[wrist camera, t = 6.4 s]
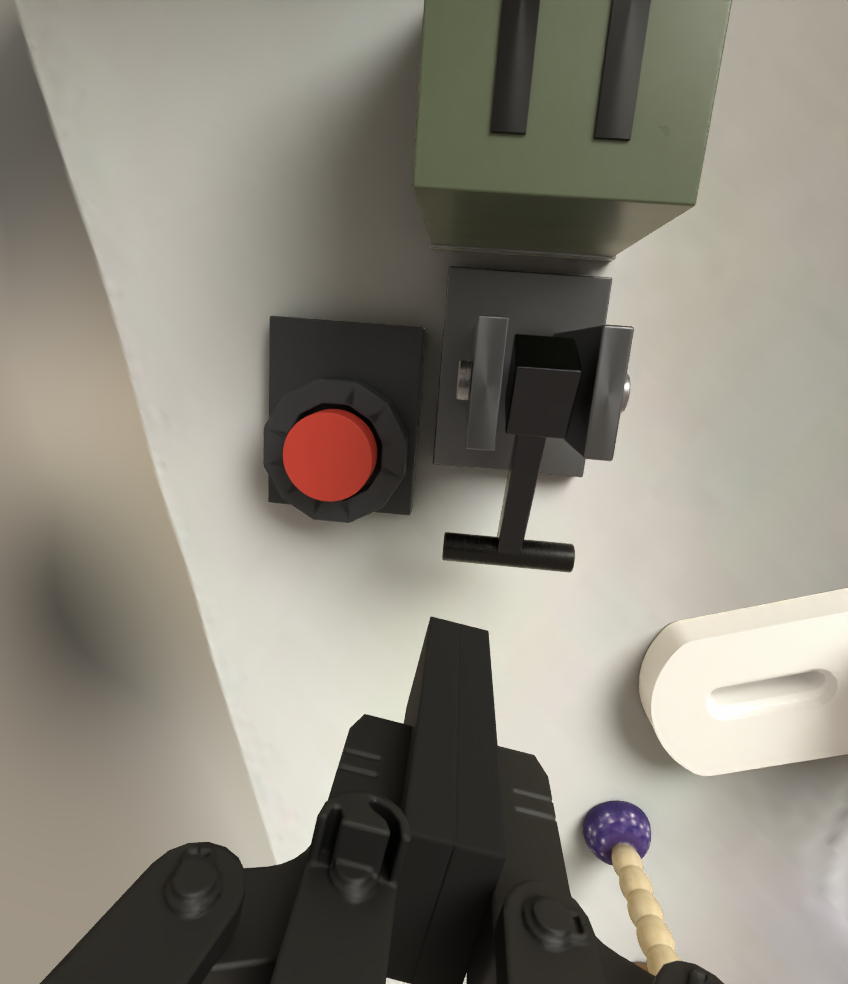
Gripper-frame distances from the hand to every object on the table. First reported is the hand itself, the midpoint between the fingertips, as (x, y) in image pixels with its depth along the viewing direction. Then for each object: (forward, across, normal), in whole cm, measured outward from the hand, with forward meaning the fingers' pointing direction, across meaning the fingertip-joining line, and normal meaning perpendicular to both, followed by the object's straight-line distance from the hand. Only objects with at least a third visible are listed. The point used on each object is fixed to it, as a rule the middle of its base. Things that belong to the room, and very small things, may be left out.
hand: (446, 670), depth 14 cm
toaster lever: (+11, +2, +4) cm, 12 cm away
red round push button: (+16, -7, +1) cm, 17 cm away
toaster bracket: (+18, +1, +7) cm, 19 cm away
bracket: (+18, +23, -5) cm, 29 cm away
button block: (+18, -7, +3) cm, 20 cm away
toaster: (+18, -1, +18) cm, 26 cm away
